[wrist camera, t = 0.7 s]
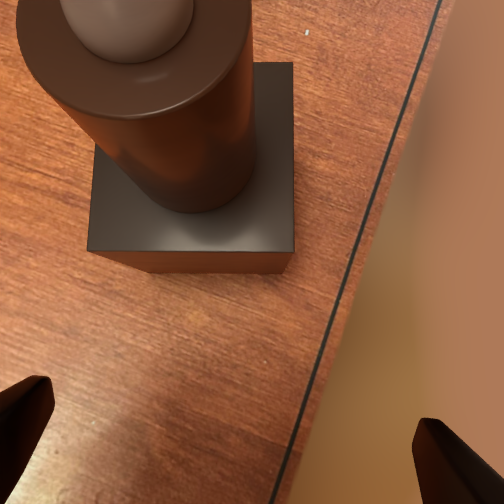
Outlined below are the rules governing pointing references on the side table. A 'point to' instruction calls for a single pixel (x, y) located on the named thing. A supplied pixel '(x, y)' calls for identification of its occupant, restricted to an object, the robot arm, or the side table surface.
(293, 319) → the side table surface
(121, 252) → the block
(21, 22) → the pepper mill
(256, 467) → the side table surface
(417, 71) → the side table surface
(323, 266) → the side table surface
